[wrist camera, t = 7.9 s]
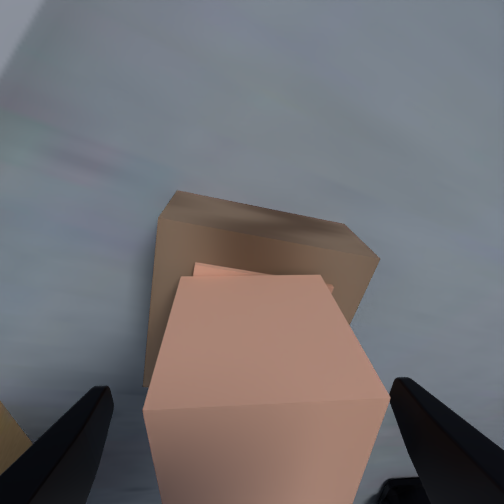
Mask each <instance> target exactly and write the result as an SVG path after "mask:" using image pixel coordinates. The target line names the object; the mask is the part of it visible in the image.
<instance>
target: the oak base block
mask: <svg viewBox="0 0 504 504" xmlns="http://www.w3.org/2000/svg"><path fill="white" fill-rule="evenodd" d="M379 261H380V258H379V257H378V256H377V255H376V254H375V253H374V252H373V251H372V250H371V249H370V248H369V247H368V246H367V245H366V244H365V243H364V242H362V241H361V240H360V239H359V238H358V237H357V236H356V235H355V234H354V233H353V232H352V231H351V230H350V229H349V228H348V227H347V226H346V225H345V224H342V223H337V222H332V221H327V220H322V219H317V218H312V217H307V216H302V215H297V214H292V213H287V212H282V211H277V210H272V209H267V208H262V207H257V206H252V205H247V204H242V203H237V202H232V201H228V200H223V199H218V198H213V197H208V196H203V195H198V194H193V193H188V192H183V191H178V190H177V191H176V193H175V194H174V196H173V197H172V199H171V200H170V201H169V203H168V204H167V206H166V207H165V209H164V210H163V211H162V213H161V214H160V216H159V217H158V225H157V236H156V247H155V258H154V269H153V280H152V291H151V302H150V313H149V324H148V335H147V346H146V356H145V367H144V378H143V387H149V386H150V382H151V379H152V375H153V372H154V368H155V365H156V361H157V358H158V354H159V351H160V347H161V344H162V340H163V337H164V333H165V330H166V326H167V323H168V319H169V316H170V312H171V309H172V305H173V302H174V299H175V295H176V292H177V288H178V285H179V281H180V278H181V276H255V275H321V277H322V278H323V280H324V282H325V284H326V285H327V287H328V289H329V291H330V292H331V294H332V296H333V298H334V299H335V301H336V303H337V305H338V306H339V308H340V310H341V312H342V313H343V315H344V317H345V319H346V320H347V322H348V324H349V325H350V323H351V321H352V319H353V316H354V314H355V312H356V310H357V308H358V306H359V304H360V301H361V299H362V297H363V295H364V293H365V291H366V289H367V286H368V284H369V282H370V280H371V278H372V276H373V274H374V271H375V269H376V267H377V265H378V263H379Z"/></svg>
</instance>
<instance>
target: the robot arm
mask: <svg viewBox="0 0 504 504" xmlns="http://www.w3.org/2000/svg"><path fill="white" fill-rule="evenodd" d="M389 396H390V404H391V407H392V409H393V412H394V415H395V418H396V421H397V424H398V426H399V429H400V432H401V435H402V438H403V440H404V443H405V446H406V448H407V451H408V454H409V456H410V458H411V460H412V463H413V465H414V467H415V469H416V471H417V474H418V476H419V479H401V480H391V481H389V482H388V483H387V484H386V487H385V489H384V491H383V493H382V495H381V498H380V500H379V502H378V504H504V450H503V449H501V448H500V447H499V446H498V445H496V444H495V443H494V442H492V441H491V440H490V439H488V438H487V437H486V436H485V435H483V434H482V433H481V432H479V431H478V430H477V429H476V428H474V427H473V426H472V425H470V424H469V423H468V422H466V421H465V420H464V419H463V418H461V417H460V416H459V415H457V414H456V413H455V412H453V411H452V410H451V409H450V408H448V407H447V406H446V405H444V404H443V403H442V402H441V401H439V400H438V399H437V398H435V397H434V396H433V395H431V394H430V393H429V392H428V391H426V390H425V389H424V388H422V387H421V386H420V385H419V384H417V383H416V382H415V381H413V380H412V379H410V378H408V377H397V378H396V379H395V380H394V382H393V385H392V388H391V390H390V393H389ZM113 409H114V403H113V399H112V395H111V391H110V388H109V387H108V386H95V387H93V388H91V389H90V390H89V391H88V392H87V393H86V394H85V395H84V396H83V397H82V398H81V399H80V400H79V401H78V402H77V403H76V404H74V405H73V406H72V407H71V408H70V409H69V410H68V411H67V412H66V413H65V414H64V415H63V416H62V417H61V418H60V419H59V420H58V421H57V422H56V423H55V424H53V425H52V426H51V427H50V428H49V429H48V430H47V431H46V432H45V433H44V434H43V435H42V436H41V437H40V438H39V439H38V440H37V441H36V442H35V443H34V444H32V445H31V446H30V447H29V448H28V449H27V450H26V451H25V452H24V453H23V454H22V455H21V456H20V457H19V458H18V459H17V460H16V461H15V462H14V463H13V464H11V465H10V466H9V467H8V468H7V469H6V470H5V471H4V472H3V473H2V474H1V475H0V504H85V503H86V500H87V498H88V495H89V492H90V489H91V487H92V484H93V481H94V479H95V476H96V473H97V470H98V467H99V463H100V459H101V456H102V452H103V448H104V444H105V441H106V437H107V433H108V429H109V425H110V421H111V418H112V414H113Z"/></svg>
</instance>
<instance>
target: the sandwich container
mask: <svg viewBox="0 0 504 504" xmlns="http://www.w3.org/2000/svg"><path fill="white" fill-rule="evenodd" d="M31 445H32V442H31V441H30V440H29V438H28V437H27V436H26V434H25V433H24V432H23V430H22V429H21V428H20V426H19V425H18V424H17V423H16V421H15V420H14V419H13V417H12V416H11V415H10V413H9V412H8V411H7V409H6V408H5V407H4V405H3V404H2V403H1V401H0V475H1V474H2V473H3V472H4V471H5V470H6V469H7V468H8V467H9V466H10V465H11V464H13V463H14V462H15V461H16V460H17V459H18V458H19V457H20V456H21V455H22V454H23V453H24V452H25V451H26V450H27V449H28V448H29V447H30V446H31Z"/></svg>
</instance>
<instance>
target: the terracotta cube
mask: <svg viewBox="0 0 504 504" xmlns="http://www.w3.org/2000/svg"><path fill="white" fill-rule="evenodd" d="M389 401H390V396H389V394H388V392H387V391H386V389H385V387H384V385H383V384H382V382H381V380H380V378H379V377H378V375H377V373H376V371H375V370H374V368H373V366H372V364H371V363H370V361H369V359H368V357H367V356H366V354H365V352H364V350H363V349H362V347H361V345H360V343H359V342H358V340H357V338H356V336H355V335H354V333H353V331H352V329H351V327H350V326H349V324H348V322H347V320H346V319H345V317H344V315H343V313H342V312H341V310H340V308H339V306H338V305H337V303H336V301H335V299H334V298H333V296H332V294H331V292H330V291H329V289H328V287H327V285H326V284H325V282H324V280H323V278H322V277H321V275H255V276H181V278H180V281H179V285H178V288H177V292H176V295H175V299H174V302H173V305H172V309H171V312H170V316H169V319H168V323H167V326H166V330H165V333H164V337H163V340H162V344H161V347H160V351H159V354H158V358H157V361H156V365H155V368H154V372H153V375H152V379H151V382H150V386H149V389H148V393H147V396H146V400H145V403H144V407H143V410H142V411H143V415H144V420H145V425H146V430H147V434H148V439H149V444H150V449H151V453H152V458H153V463H154V467H155V472H156V477H157V482H158V486H159V491H160V496H161V500H162V504H352V503H353V501H354V498H355V495H356V492H357V490H358V487H359V484H360V481H361V478H362V476H363V473H364V470H365V467H366V465H367V462H368V459H369V456H370V454H371V451H372V448H373V445H374V443H375V440H376V437H377V434H378V431H379V429H380V426H381V423H382V420H383V418H384V415H385V412H386V409H387V407H388V404H389Z"/></svg>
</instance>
